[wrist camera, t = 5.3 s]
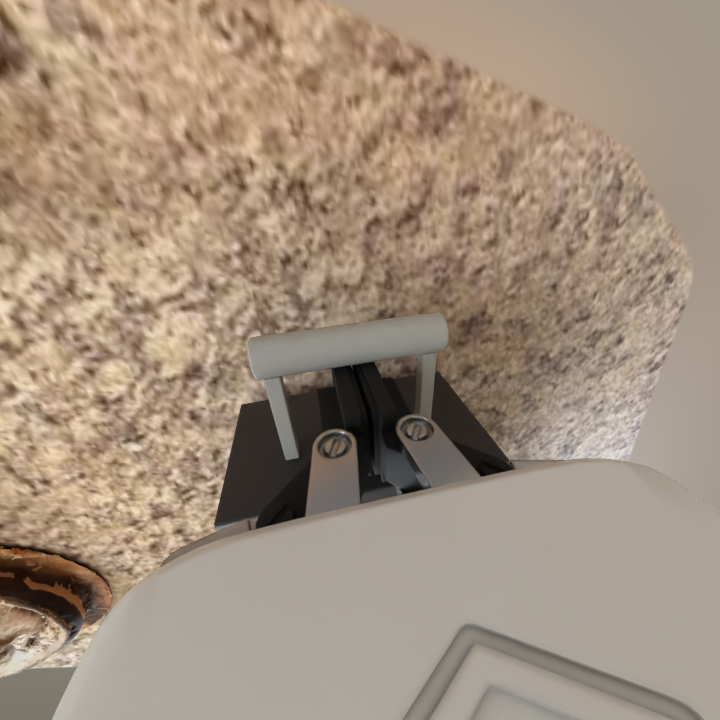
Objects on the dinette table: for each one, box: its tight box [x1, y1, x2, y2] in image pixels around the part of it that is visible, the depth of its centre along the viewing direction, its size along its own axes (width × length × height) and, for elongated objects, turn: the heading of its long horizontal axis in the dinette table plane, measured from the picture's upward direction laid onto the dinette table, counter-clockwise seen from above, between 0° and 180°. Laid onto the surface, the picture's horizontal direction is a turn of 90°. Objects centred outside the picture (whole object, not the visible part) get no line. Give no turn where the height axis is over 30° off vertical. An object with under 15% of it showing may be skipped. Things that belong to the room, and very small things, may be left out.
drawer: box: [214, 312, 509, 532], centre depth 16 cm, size 19×12×7 cm, turn 3°
